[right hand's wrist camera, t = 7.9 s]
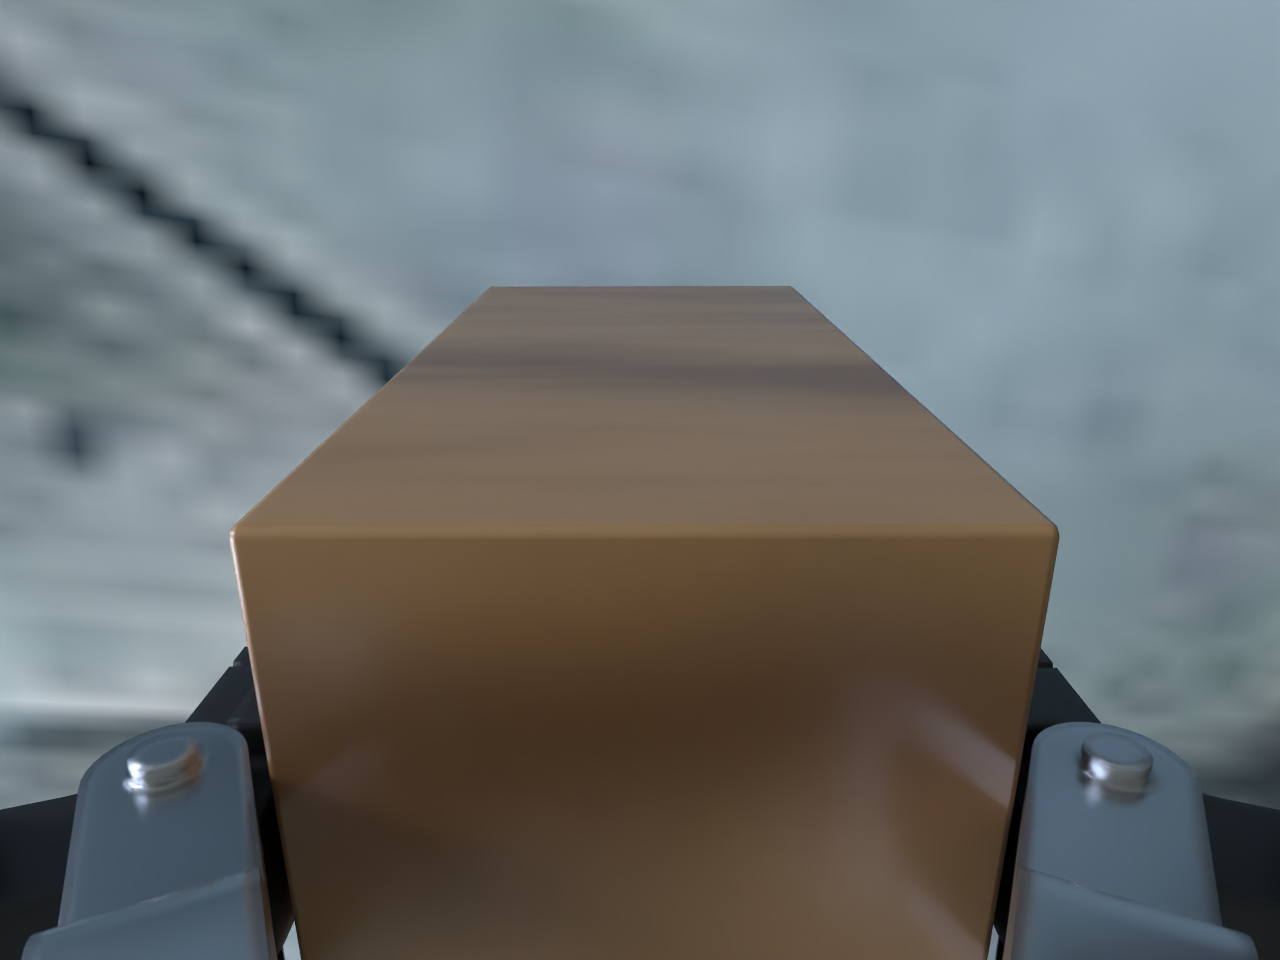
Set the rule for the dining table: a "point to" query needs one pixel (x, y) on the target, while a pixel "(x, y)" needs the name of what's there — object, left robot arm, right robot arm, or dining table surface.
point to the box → (644, 645)
